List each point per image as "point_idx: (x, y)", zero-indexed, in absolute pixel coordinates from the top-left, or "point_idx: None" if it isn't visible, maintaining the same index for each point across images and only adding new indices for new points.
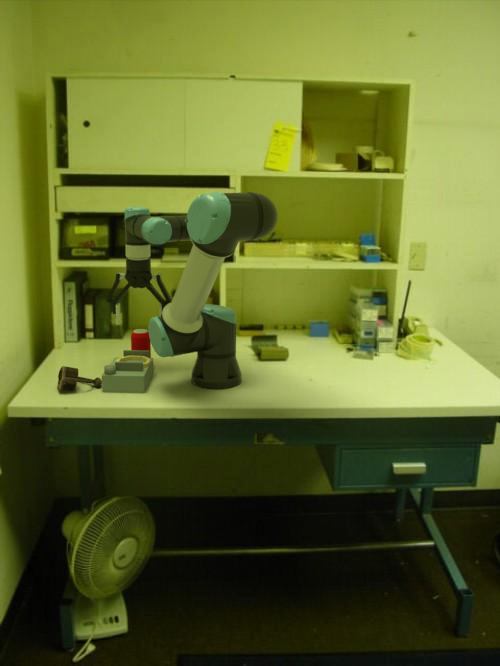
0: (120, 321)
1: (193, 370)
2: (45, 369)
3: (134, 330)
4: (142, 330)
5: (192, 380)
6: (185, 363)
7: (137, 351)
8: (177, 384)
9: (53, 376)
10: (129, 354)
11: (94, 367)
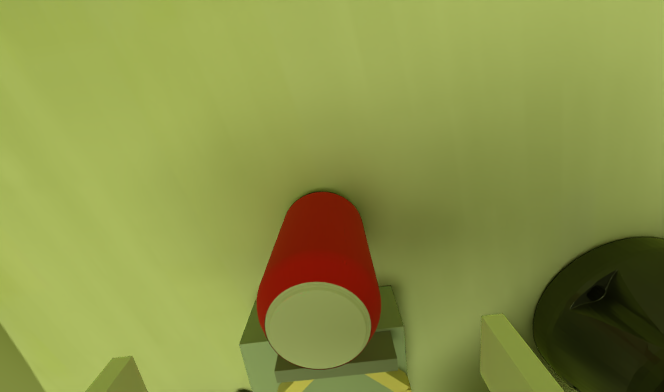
0: (125, 366)
1: (568, 371)
2: (3, 313)
3: (274, 334)
4: (330, 324)
5: (541, 352)
6: (496, 150)
7: (342, 374)
8: None
9: (80, 363)
10: None
11: (153, 264)
